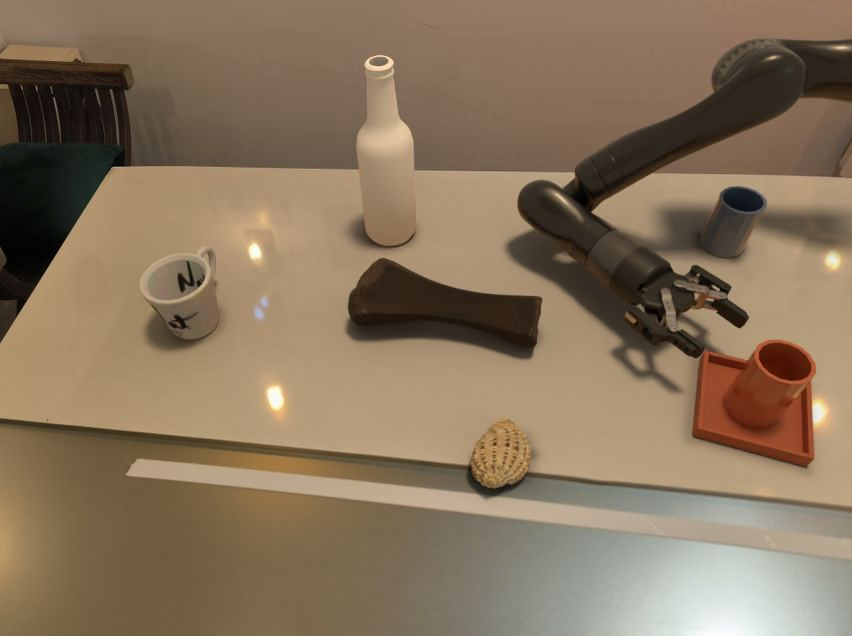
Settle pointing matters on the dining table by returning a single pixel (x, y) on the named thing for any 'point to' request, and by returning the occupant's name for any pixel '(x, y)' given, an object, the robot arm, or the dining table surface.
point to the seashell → (501, 455)
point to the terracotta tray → (715, 424)
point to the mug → (183, 292)
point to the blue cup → (732, 221)
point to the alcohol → (386, 160)
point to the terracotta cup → (769, 383)
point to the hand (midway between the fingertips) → (723, 338)
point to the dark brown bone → (440, 304)
